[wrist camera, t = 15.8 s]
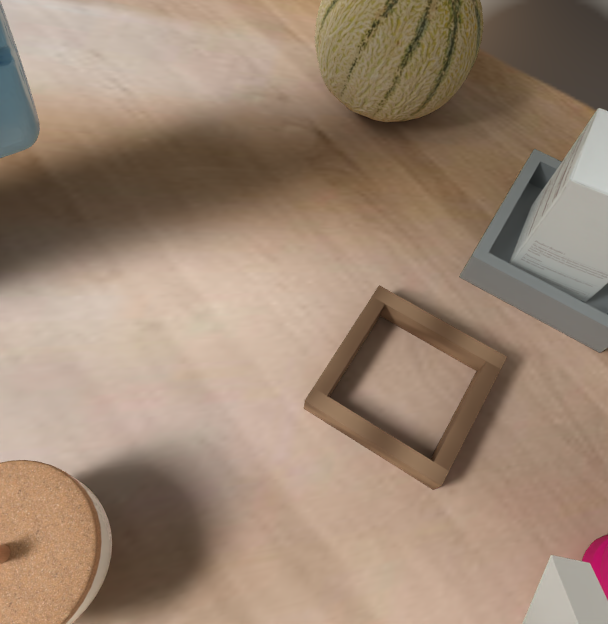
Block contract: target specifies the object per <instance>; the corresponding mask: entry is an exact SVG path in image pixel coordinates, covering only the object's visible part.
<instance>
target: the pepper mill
mask: <svg viewBox="0 0 608 624" xmlns="http://www.w3.org/2000/svg"><path fill="white" fill-rule="evenodd" d="M582 561H583V562H588V563H590V564H591V566H592V568H593V571H594V573H595V575H596V577H597V579H598V581H599V583H600V585H601V587H602V589H603V592H604V594H605V596H606V598H607V600H608V535H605V536H603V537H601V538H599V539H597V540H595V541H594V542H593V543H592V544H591V545H590V546H589V548H588V549H587V550H586V552H585V554H584V556H583V559H582Z"/></svg>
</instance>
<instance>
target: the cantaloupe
mask: <svg viewBox="0 0 608 624" xmlns="http://www.w3.org/2000/svg"><path fill="white" fill-rule="evenodd" d="M482 32H483V15H482V6H481V2H480V0H322V1H321V4H320V7H319V11H318V16H317V20H316V30H315V47H316V52H317V58H318V63H319V68H320V71H321V75H322V77H323V80H324V82H325V84H326V86H327V87H328V89H329V91H330V92H331V93H332V94H333V95H334V96H335V97H336V98H337V99H338V100H339V101H340V102H342V103H343V104H344V105H345V106H346V107H347V108H349V109H350V110H351V111H353V112H355V113H358V114H360V115H363V116H366V117H369V118H371V119H373V120H376V121H381V122H394V121H407V120H412V119H416V118H420V117H422V116H425V115H427V114H430V113H432V112H434V111H435V110H437V109H439V108H440V107H442V106H443V105H444V104H445V103H447V102H448V101H449V100H450V99H451V98H452V97H453V96H454V95H455V93H456V92H457V91H458V90H459V89H460V87H461V85H462V83H463V82H464V81H465V80H466V78H467V76H468V74H469V72H470V70H471V68H472V66H473V65H474V63H475V60H476V58H477V55H478V52H479V48H480V44H481V41H482Z"/></svg>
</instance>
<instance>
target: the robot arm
mask: <svg viewBox="0 0 608 624" xmlns="http://www.w3.org/2000/svg"><path fill="white" fill-rule="evenodd" d="M39 130H40V127H39V119H38V115H37V111H36V108H35V104H34V101H33V97H32V94H31V91H30V87H29V84H28V81H27V78H26V75H25V72H24V69H23V65H22V62H21V59H20V56H19V53H18V50H17V47H16V44H15V41H14V38H13V36H12V33H11V30H10V27H9V24H8V21H7V18H6V15H5V13H4V10H3V7H2V4H1V1H0V158H2V157H5V156H8V155H11V154H14V153H17V152H20V151H23V150H25V149H27V148H29V147H31V146H32V145H33V144H34V143H35V141H36V140H37V138H38V135H39ZM522 624H608V600H607V598H606V596H605V594H604V592H603V589H602V587H601V585H600V583H599V581H598V579H597V577H596V575H595V573H594V571H593V568H592V566H591V564H590V563H588V562H583V561H578V560H573V559H568V558H563V557H559V556H554V555H551V556H550V559H549V561H548V564H547V566H546V568H545V571H544V573H543V575H542V578H541V580H540V583H539V585H538V587H537V590H536V592H535V595H534V597H533V599H532V602H531V604H530V607H529V609H528V611H527V614H526V616H525V618H524V621H523V623H522Z"/></svg>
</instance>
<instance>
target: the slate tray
mask: <svg viewBox="0 0 608 624" xmlns="http://www.w3.org/2000/svg"><path fill="white" fill-rule="evenodd" d="M561 163H562V162H561V161H559V160H557V159H555V158H553V157H551V156H549V155H546V154H544V153H542V152H540V151H538V150H536V149H534V150H533V152H532V153H531V155H530V157H529V158H528V160H527V162H526V163H525V165H524V167H523V168H522V170H521V172H520V173H519V175H518V177H517V178H516V180H515V182H514V184H513V185H512V187H511V189H510V190H509V192H508V194H507V196H506V197H505V199H504V201H503V202H502V204H501V206H500V208H499V209H498V211H497V213H496V214H495V216H494V218H493V220H492V221H491V223H490V225H489V226H488V228H487V230H486V232H485V233H484V235H483V237H482V238H481V240H480V242H479V244H478V245H477V247H476V249H475V250H474V252H473V254H472V256H471V257H470V259H469V261H468V262H467V264H466V266H465V268H464V269H463V271H462V273H461V274H460V276H459V277H460V278H462V279H464V280H466V281H468V282H469V283H471V284H473V285H475V286H477V287H479V288H480V289H482V290H484V291H486V292H488V293H490V294H492V295H493V296H495V297H497V298H499V299H501V300H503V301H505V302H506V303H508V304H510V305H512V306H514V307H516V308H518V309H519V310H521V311H523V312H525V313H527V314H529V315H531V316H532V317H534V318H536V319H538V320H540V321H542V322H544V323H545V324H547V325H549V326H551V327H553V328H555V329H556V330H558V331H560V332H562V333H564V334H566V335H568V336H569V337H571V338H573V339H575V340H577V341H579V342H581V343H582V344H584V345H586V346H588V347H590V348H592V349H594V350H595V351H597V352H599V353H601V352H602V351H604V350H605V349H607V348H608V283H607V284H606V285H605V286H604V287H603V288H602V289H601V290H599V291H598V292H597V293H596V294H595V295H594V296H593V297H591V298H590V299H589V300H588V301H587V302H584V301H581V300H579V299H577V298H574V297H572V296H570V295H569V294H567V293H565V292H563V291H561V290H559V289H557V288H555V287H553V286H551V285H549V284H548V283H546V282H544V281H542V280H540V279H538V278H536V277H534V276H532V275H530V274H529V273H527V272H525V271H523V270H521V269H519V268H517V267H515V266H513V265H511V264H509V262H510V259H511V257H512V254H513V252H514V249H515V247H516V244H517V242H518V239H519V236H520V234H521V231H522V229H523V226H524V224H525V221H526V219H527V216H528V214H529V211H530V208H531V206H532V204H533V203H534V201H535V200H536V198H537V197H538V196H539V194H540V193H541V191H542V190H543V189H544V187H545V186H546V184H547V183H548V181H549V180H550V179H551V177H552V176H553V174H554V173H555V171H556V170H557V168H558V167H559V166H560V164H561Z"/></svg>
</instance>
